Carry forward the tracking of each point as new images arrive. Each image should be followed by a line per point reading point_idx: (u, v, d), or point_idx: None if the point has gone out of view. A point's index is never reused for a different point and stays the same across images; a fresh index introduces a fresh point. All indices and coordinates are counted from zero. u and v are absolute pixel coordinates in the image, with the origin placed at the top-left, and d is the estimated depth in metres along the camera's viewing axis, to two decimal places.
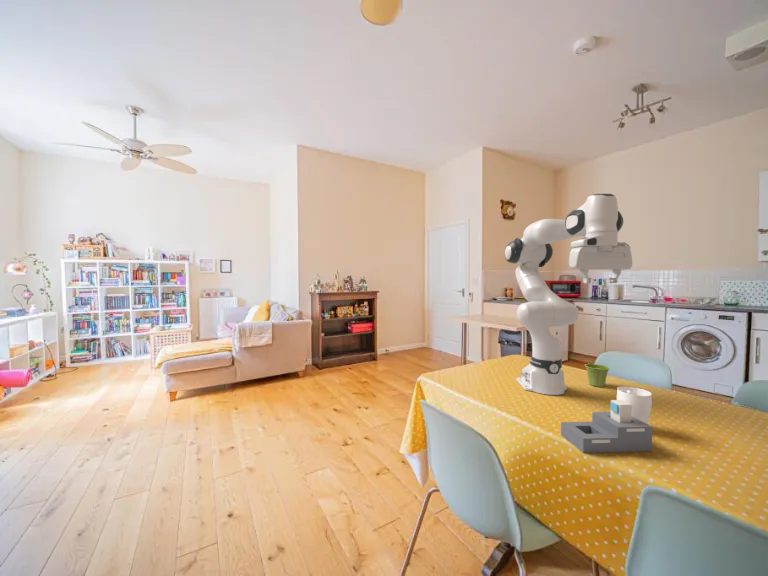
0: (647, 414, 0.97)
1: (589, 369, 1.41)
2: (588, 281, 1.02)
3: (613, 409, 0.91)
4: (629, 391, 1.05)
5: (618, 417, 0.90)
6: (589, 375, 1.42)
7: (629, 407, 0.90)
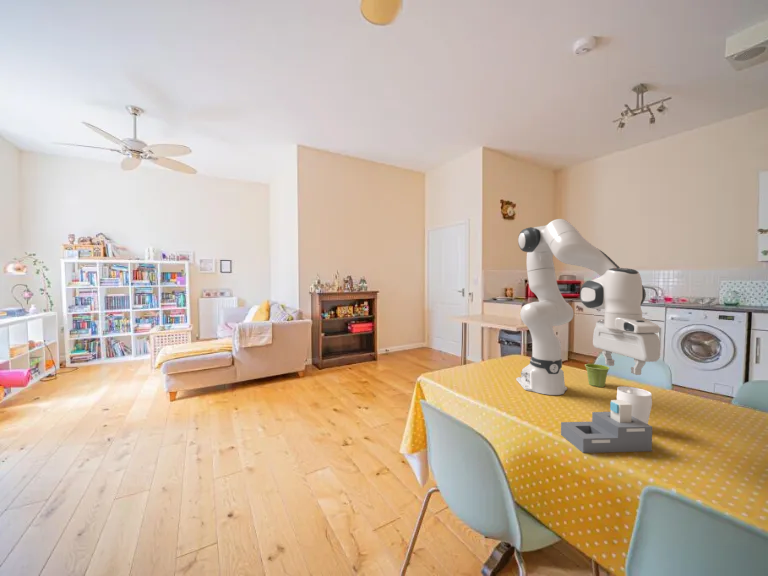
0: (647, 414, 0.97)
1: (589, 369, 1.41)
2: None
3: (613, 409, 0.91)
4: (629, 391, 1.05)
5: (618, 417, 0.90)
6: (589, 375, 1.42)
7: (629, 407, 0.90)
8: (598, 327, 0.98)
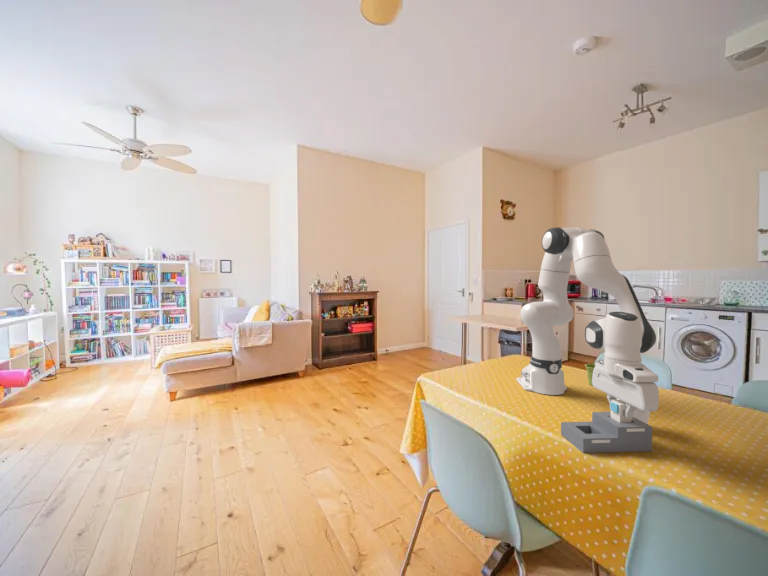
0: (647, 414, 0.97)
1: (589, 369, 1.41)
2: None
3: (613, 409, 0.91)
4: None
5: (618, 417, 0.90)
6: (589, 375, 1.42)
7: None
8: (598, 368, 0.98)
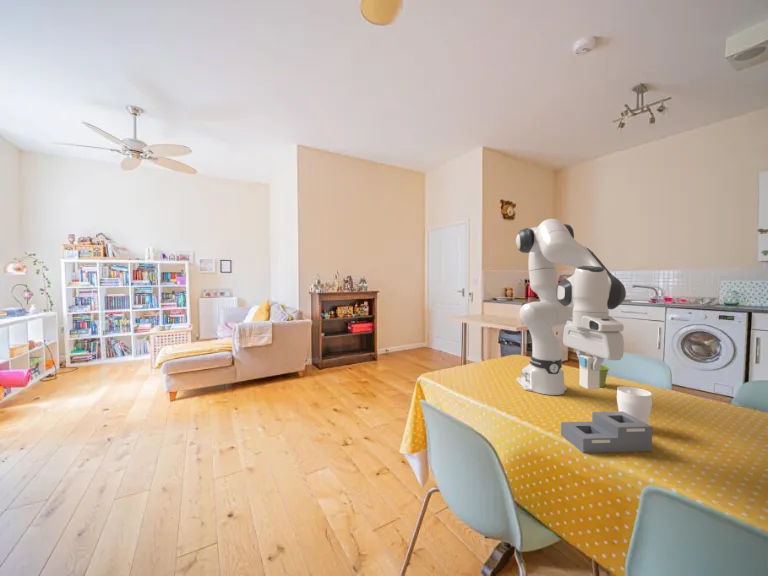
0: (647, 414, 0.97)
1: None
2: None
3: (581, 363, 0.91)
4: (629, 391, 1.05)
5: (586, 371, 0.89)
6: None
7: None
8: (568, 325, 0.97)
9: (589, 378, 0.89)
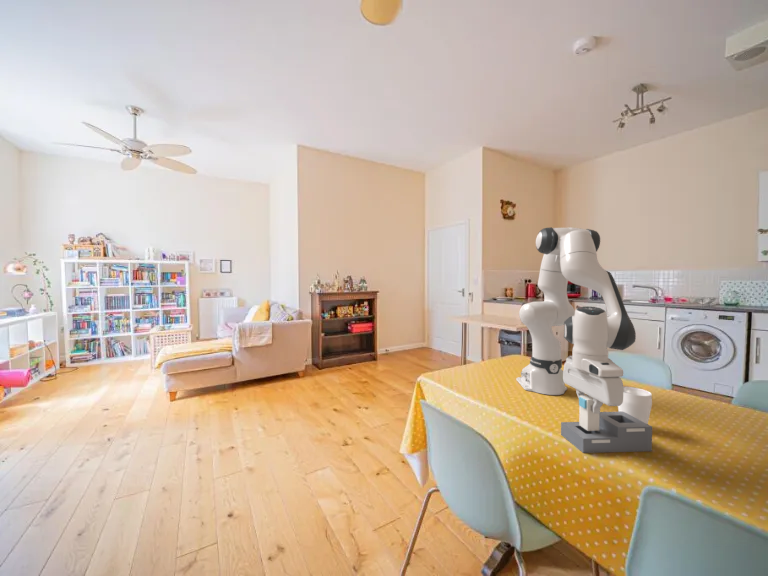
0: (647, 414, 0.97)
1: None
2: None
3: (581, 404, 0.91)
4: (629, 391, 1.05)
5: (586, 412, 0.90)
6: None
7: None
8: (568, 364, 0.98)
9: (589, 420, 0.89)
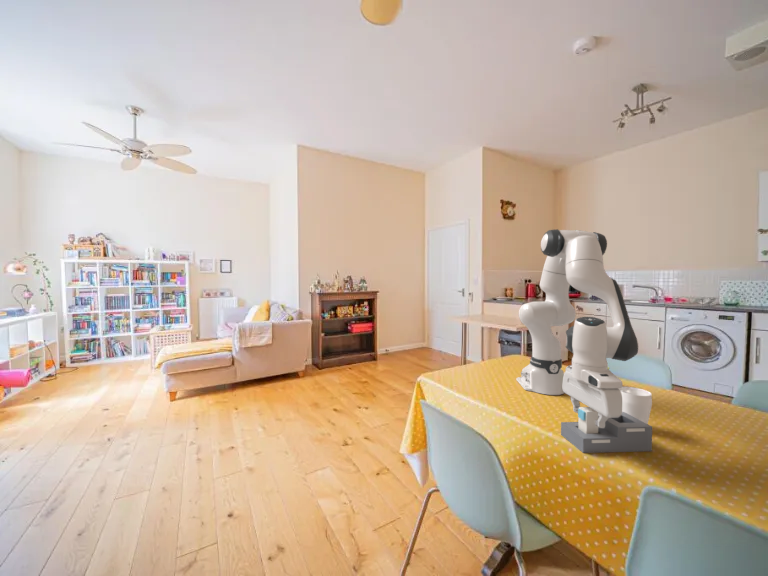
0: (647, 414, 0.97)
1: None
2: None
3: (580, 416, 0.91)
4: (629, 391, 1.05)
5: (585, 424, 0.90)
6: None
7: (595, 414, 0.89)
8: (567, 373, 0.98)
9: (588, 432, 0.89)
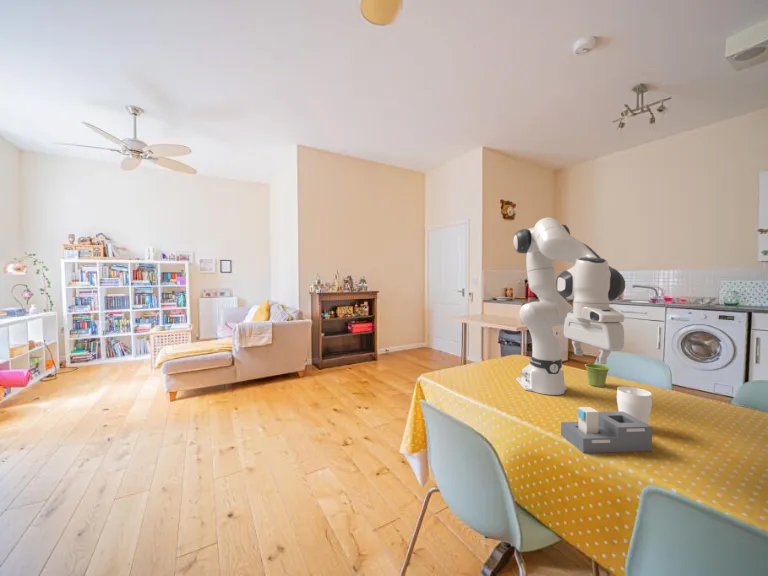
0: (647, 414, 0.97)
1: (589, 369, 1.41)
2: None
3: (580, 416, 0.91)
4: (629, 391, 1.05)
5: (585, 424, 0.90)
6: (589, 375, 1.42)
7: (595, 414, 0.89)
8: (568, 317, 0.97)
9: (588, 432, 0.89)
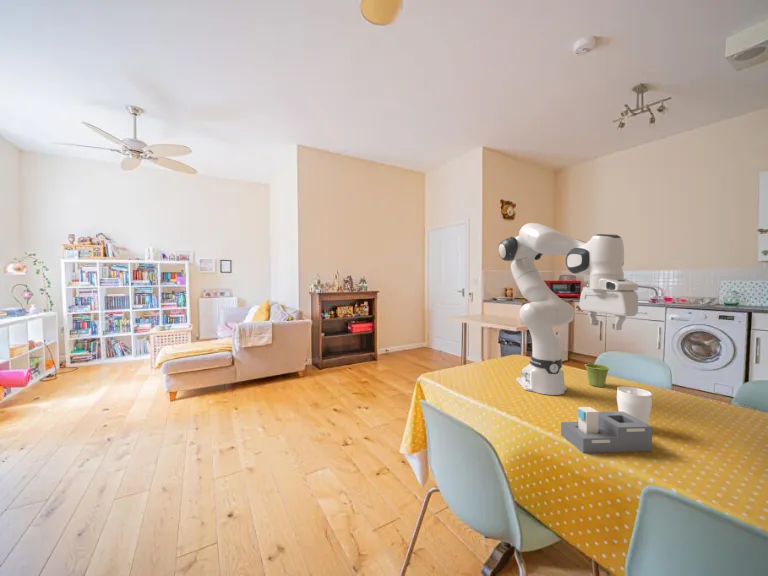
0: (647, 414, 0.97)
1: (589, 369, 1.41)
2: None
3: (580, 416, 0.91)
4: (629, 391, 1.05)
5: (585, 424, 0.90)
6: (589, 375, 1.42)
7: (595, 414, 0.89)
8: (584, 291, 1.06)
9: (588, 432, 0.89)
